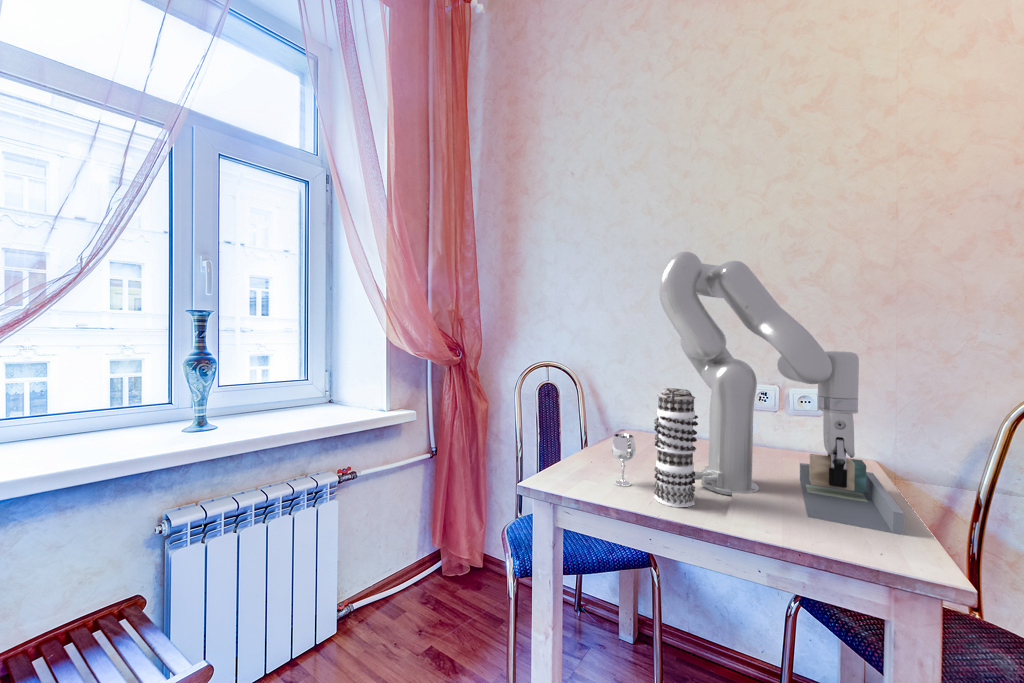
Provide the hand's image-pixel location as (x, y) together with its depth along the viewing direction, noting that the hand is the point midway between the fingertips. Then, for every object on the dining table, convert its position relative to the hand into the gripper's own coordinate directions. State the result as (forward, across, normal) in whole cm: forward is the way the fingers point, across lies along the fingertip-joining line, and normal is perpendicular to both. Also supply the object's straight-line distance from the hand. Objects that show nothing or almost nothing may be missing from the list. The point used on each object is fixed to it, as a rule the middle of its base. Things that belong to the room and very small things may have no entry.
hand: (836, 481), depth 100 cm
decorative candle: (+4, -23, +32) cm, 39 cm away
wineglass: (+4, -18, +45) cm, 48 cm away
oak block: (+1, 0, 0) cm, 1 cm away
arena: (+4, -6, -1) cm, 7 cm away
